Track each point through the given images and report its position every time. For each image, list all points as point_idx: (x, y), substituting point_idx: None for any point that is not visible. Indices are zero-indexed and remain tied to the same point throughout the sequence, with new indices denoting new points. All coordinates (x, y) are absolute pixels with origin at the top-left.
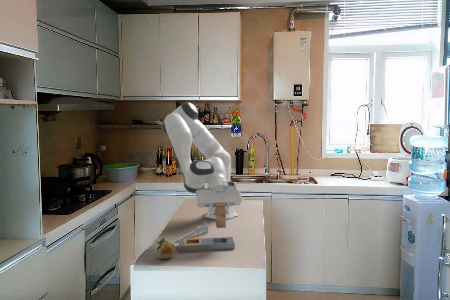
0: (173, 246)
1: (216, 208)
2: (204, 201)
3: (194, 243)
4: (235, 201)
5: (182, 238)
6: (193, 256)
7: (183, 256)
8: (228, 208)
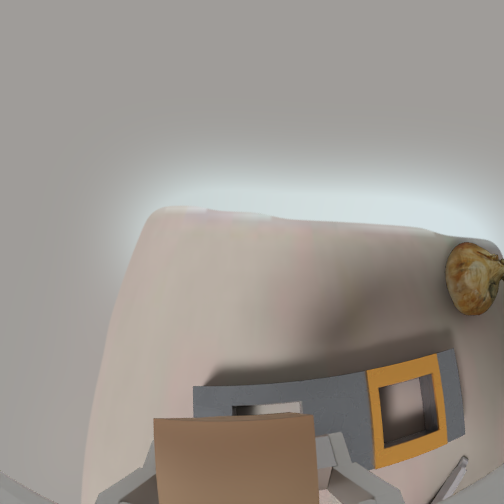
0: (458, 267)
1: (300, 414)
2: (494, 494)
3: (399, 382)
4: (20, 485)
5: (447, 487)
6: (379, 308)
7: (414, 308)
8: (136, 469)
